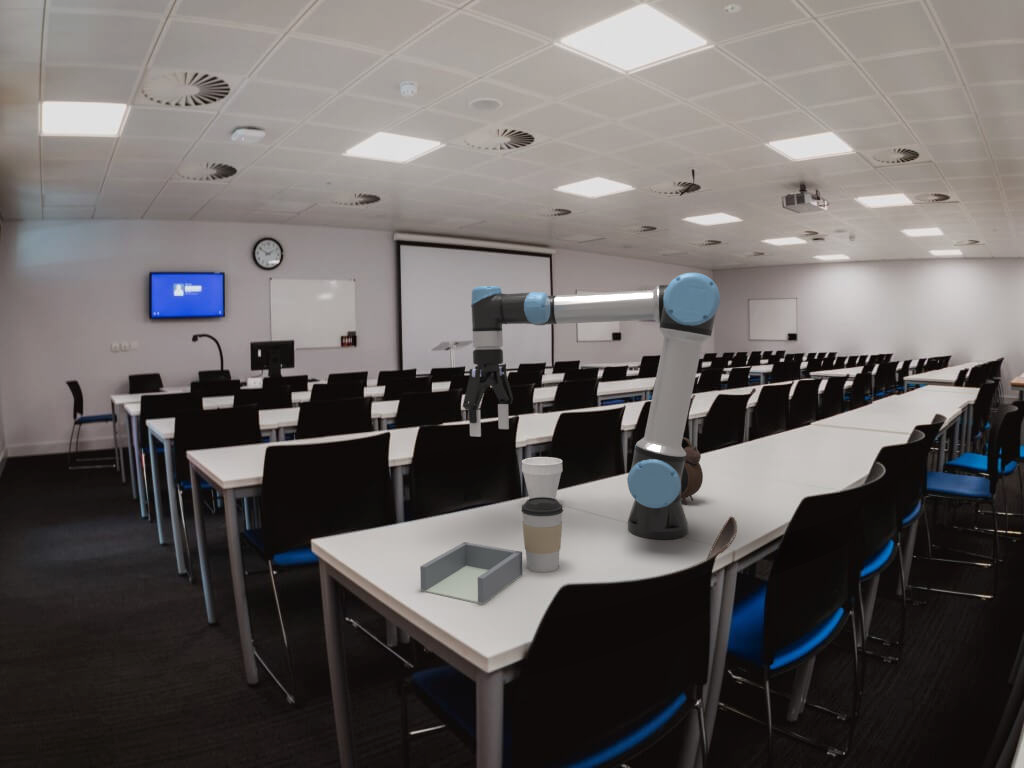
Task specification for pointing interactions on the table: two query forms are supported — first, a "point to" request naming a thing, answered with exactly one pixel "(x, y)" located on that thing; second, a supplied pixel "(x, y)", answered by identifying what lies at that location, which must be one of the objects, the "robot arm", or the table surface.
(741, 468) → the table surface
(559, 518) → the coffee cup
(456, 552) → the u rest
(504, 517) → the table surface
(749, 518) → the table surface
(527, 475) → the cup
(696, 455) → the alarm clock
